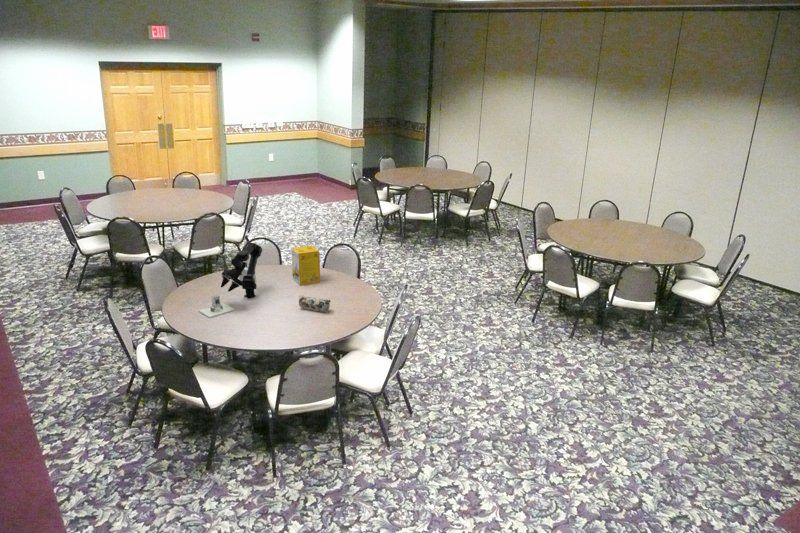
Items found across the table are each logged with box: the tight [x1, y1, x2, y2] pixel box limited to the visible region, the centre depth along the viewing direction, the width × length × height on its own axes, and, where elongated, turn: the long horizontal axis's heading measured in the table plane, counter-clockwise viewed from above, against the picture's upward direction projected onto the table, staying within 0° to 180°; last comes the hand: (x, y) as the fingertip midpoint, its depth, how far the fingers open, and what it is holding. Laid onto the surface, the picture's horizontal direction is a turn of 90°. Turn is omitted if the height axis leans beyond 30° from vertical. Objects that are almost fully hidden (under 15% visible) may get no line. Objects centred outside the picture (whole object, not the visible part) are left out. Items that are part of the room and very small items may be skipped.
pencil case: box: [298, 294, 332, 314], centre depth 389 cm, size 22×8×10 cm, turn 68°
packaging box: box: [290, 245, 321, 287], centre depth 439 cm, size 16×16×25 cm
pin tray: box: [198, 303, 236, 319], centre depth 385 cm, size 14×18×4 cm
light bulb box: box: [238, 266, 257, 281], centre depth 438 cm, size 11×7×11 cm, turn 84°
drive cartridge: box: [210, 294, 221, 312], centre depth 384 cm, size 4×4×10 cm
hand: (224, 289), depth 387 cm, fingers open, 9 cm apart
